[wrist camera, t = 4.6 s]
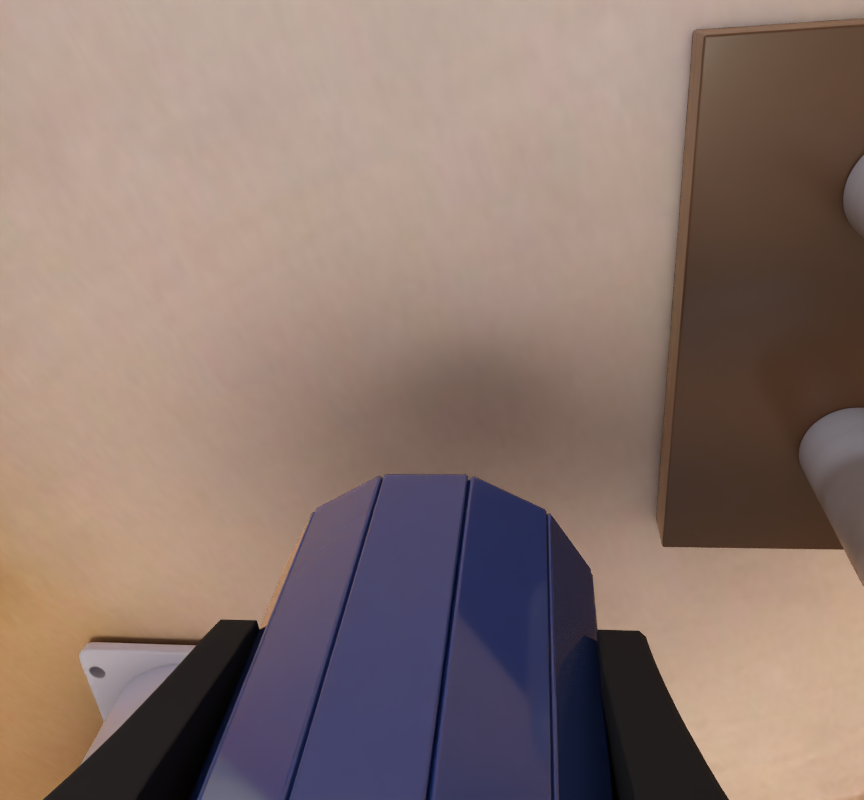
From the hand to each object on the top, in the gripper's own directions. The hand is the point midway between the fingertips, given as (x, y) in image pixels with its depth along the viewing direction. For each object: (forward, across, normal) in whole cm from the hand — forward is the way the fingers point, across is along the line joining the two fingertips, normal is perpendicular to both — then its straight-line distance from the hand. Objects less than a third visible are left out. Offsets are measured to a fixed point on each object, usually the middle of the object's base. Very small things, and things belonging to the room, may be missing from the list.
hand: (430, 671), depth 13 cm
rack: (+9, -9, -2) cm, 13 cm away
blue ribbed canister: (+2, 0, 0) cm, 2 cm away
